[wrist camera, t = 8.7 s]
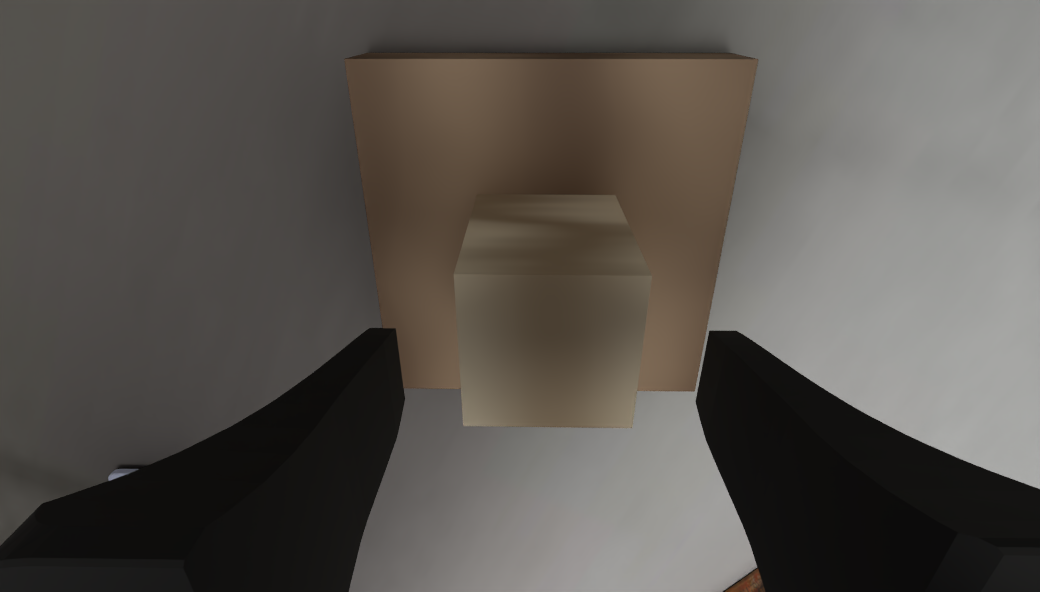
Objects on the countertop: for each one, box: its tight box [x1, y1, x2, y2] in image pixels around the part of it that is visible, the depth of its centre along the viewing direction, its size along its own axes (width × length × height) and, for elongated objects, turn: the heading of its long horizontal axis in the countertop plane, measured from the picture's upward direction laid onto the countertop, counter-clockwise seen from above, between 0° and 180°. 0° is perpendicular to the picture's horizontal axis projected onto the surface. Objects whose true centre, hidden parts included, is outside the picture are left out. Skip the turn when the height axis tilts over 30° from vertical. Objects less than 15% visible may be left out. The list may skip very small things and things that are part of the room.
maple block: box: [454, 194, 652, 428], centre depth 16 cm, size 4×4×6 cm
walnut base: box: [344, 53, 758, 391], centre depth 19 cm, size 12×12×2 cm
